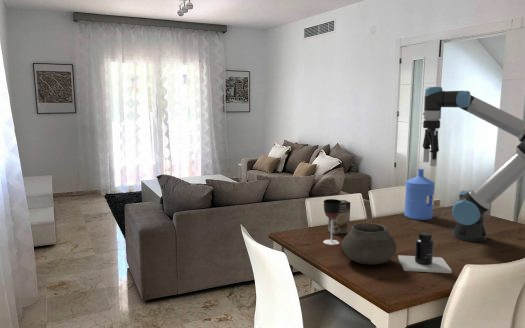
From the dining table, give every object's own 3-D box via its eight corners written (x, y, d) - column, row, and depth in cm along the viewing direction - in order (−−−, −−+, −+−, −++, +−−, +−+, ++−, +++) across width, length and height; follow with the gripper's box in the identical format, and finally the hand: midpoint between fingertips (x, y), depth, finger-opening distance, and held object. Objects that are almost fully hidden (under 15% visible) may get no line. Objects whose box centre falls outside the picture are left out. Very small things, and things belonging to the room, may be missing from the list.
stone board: (441, 260, 179) (442, 257, 179) (451, 273, 166) (451, 270, 166) (397, 258, 182) (398, 255, 182) (403, 270, 168) (403, 267, 168)
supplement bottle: (430, 266, 169) (432, 237, 167) (412, 263, 173) (414, 234, 171) (433, 261, 175) (435, 233, 173) (416, 257, 178) (418, 230, 177)
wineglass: (341, 240, 205) (343, 200, 202) (337, 246, 197) (338, 204, 194) (325, 238, 208) (326, 198, 205) (320, 243, 200) (321, 202, 198)
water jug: (406, 219, 242) (409, 171, 238) (402, 212, 257) (404, 167, 253) (435, 221, 239) (438, 172, 235) (429, 213, 255) (432, 167, 251)
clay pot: (362, 275, 164) (363, 237, 162) (332, 256, 183) (333, 223, 181) (406, 266, 173) (408, 230, 170) (373, 250, 192) (374, 217, 190)
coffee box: (333, 234, 214) (334, 203, 212) (327, 231, 220) (328, 200, 218) (349, 232, 217) (350, 202, 215) (343, 229, 223) (344, 199, 221)
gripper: (417, 118, 214) (415, 160, 217) (430, 120, 190) (427, 167, 193) (433, 119, 213) (431, 160, 216) (447, 121, 189) (445, 168, 192)
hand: (429, 164), depth 204 cm, fingers open, 13 cm apart
